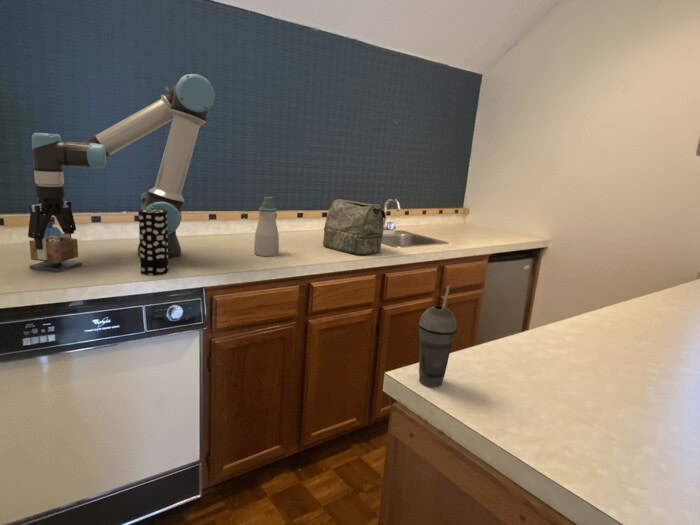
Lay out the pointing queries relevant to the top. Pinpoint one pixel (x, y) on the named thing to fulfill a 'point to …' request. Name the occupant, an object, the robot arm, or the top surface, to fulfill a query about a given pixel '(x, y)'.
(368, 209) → the lunch bag
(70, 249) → the open wooden crate
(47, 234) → the perfume bottle
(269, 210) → the soap bottle
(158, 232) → the white-spotted black cylinder
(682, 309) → the top surface
